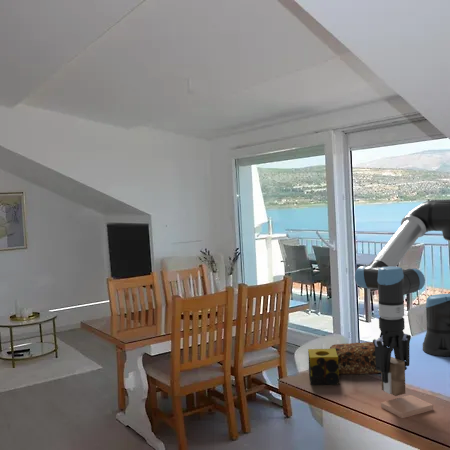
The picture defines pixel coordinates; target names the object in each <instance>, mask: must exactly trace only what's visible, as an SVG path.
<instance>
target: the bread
mask: <svg viewBox="0 0 450 450" xmlns="http://www.w3.org/2000/svg"><path fill="white" fill-rule="evenodd" d="M334 348H335V349H336V353H337V355H338V366H339V367H338V372H339V375H364V374H367V375H375V374H376V375H377V374H381V371H378V370H376V360H375V346H374V344H373V341H369V342H368V341H366V342H364V341H363V342H352V343H335V344H332V345H331V346H330V347H329V349H334Z"/></svg>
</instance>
